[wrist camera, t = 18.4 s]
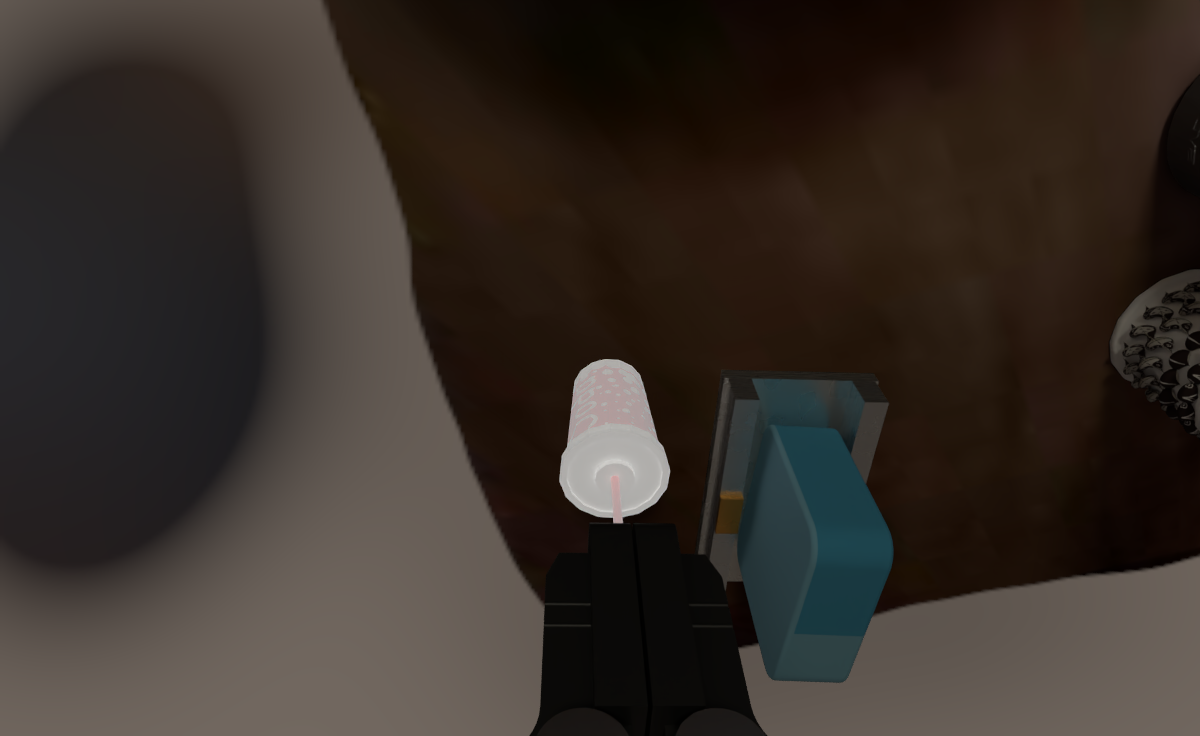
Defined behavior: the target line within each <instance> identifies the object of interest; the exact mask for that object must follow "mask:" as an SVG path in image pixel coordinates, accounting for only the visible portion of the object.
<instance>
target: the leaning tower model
mask: <svg viewBox="0 0 1200 736" xmlns="http://www.w3.org/2000/svg"><path fill="white" fill-rule="evenodd" d="M1109 345H1110V357H1111V363H1112V364H1113V365H1114V367H1115V368H1116V369H1117V371H1118V372H1119V373H1120V375H1121V376H1122V377H1123V378H1124V379H1126V380H1128V381H1131V386H1132V387H1133V388H1139V387H1141V388H1146V387H1148V389H1147V390H1146V391H1145V395H1146V396H1147V400H1148V401H1150V402H1155V401H1156V400H1160V403H1161V409H1162V410H1164V411H1166V413H1167V415H1168V416H1169V417H1170V418H1171V419H1174V420H1179V422H1180V423H1181V425H1183V427H1184V429H1185V431H1186V432H1187V433H1189V434H1191V435H1197V437H1198V439H1199V440H1200V269H1194V270H1187V271H1185V272H1182V273H1179V274H1176V275H1173V276H1170V277H1168V278H1165V279H1162V280H1160V281H1159V282H1157V283H1156V284H1155V285H1153V286H1152V287H1150V288H1149V289H1147V290H1146V291H1144V292H1143V293H1142V294H1140V295H1139V296H1137V297H1136V298H1135V299H1134V301H1133V302H1132V303H1131V304H1130V305H1129V307H1128V308H1127V309H1126V310H1125V311H1124V313H1123V314H1122V315H1121V316H1120V317H1119V318H1118V320H1117V323H1116V326H1115V328H1114V331H1113V333H1112V336H1111V339H1110V341H1109Z"/></svg>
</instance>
